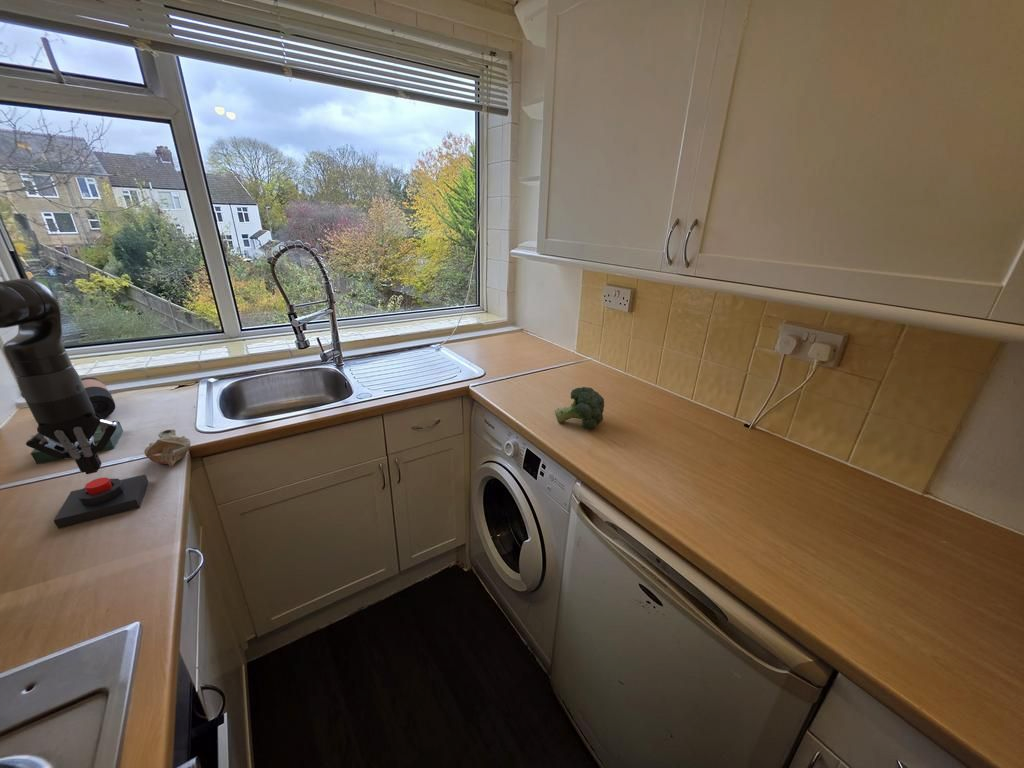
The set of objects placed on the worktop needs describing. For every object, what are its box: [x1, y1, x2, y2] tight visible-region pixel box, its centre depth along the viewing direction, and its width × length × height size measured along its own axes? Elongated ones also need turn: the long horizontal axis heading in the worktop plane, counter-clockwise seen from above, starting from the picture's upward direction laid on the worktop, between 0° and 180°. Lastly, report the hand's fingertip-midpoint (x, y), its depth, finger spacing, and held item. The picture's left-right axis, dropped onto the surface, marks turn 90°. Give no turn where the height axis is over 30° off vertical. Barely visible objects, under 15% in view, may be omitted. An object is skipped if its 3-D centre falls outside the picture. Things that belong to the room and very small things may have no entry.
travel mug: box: [80, 377, 116, 419], centre depth 121 cm, size 8×8×20 cm
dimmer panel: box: [30, 421, 124, 465], centre depth 103 cm, size 14×10×3 cm
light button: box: [84, 476, 112, 495], centre depth 82 cm, size 4×4×2 cm
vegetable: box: [554, 386, 605, 431], centre depth 117 cm, size 12×13×15 cm
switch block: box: [53, 473, 150, 530], centre depth 83 cm, size 12×10×4 cm
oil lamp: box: [143, 429, 191, 467], centre depth 98 cm, size 9×21×10 cm, turn 39°
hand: (92, 471), depth 81 cm, fingers closed
